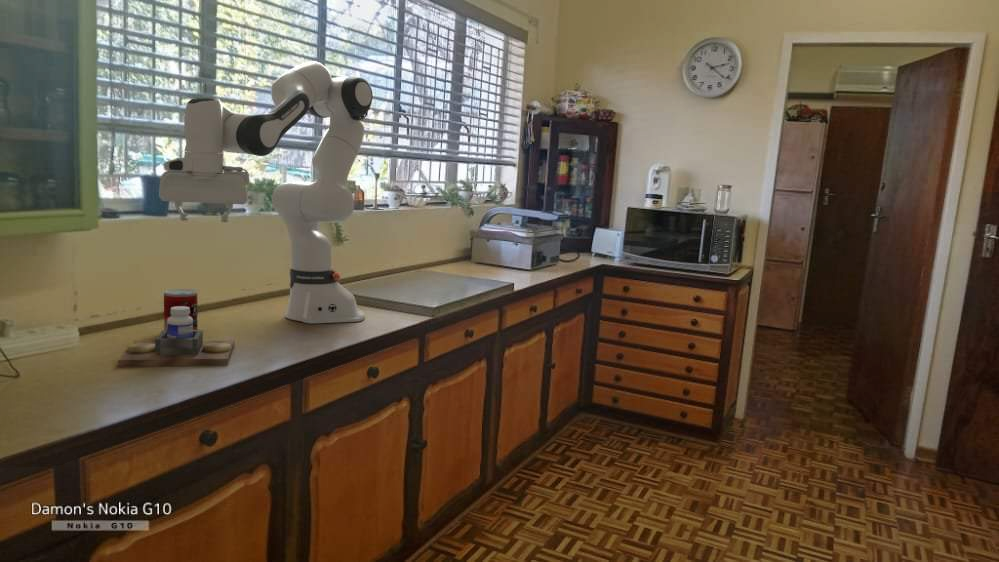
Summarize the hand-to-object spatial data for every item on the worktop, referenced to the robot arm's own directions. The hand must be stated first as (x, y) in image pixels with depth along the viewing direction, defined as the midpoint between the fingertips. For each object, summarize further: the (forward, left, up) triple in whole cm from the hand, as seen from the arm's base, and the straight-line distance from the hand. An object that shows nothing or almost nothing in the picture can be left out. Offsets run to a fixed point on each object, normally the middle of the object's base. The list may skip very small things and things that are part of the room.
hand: (204, 221), depth 178 cm
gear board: (+3, +19, -29) cm, 35 cm away
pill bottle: (+3, +19, -28) cm, 34 cm away
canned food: (+6, -2, -29) cm, 30 cm away
